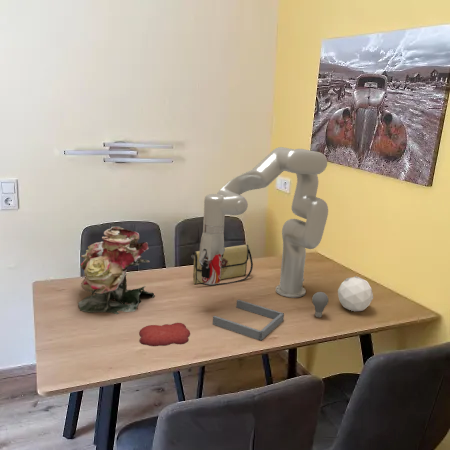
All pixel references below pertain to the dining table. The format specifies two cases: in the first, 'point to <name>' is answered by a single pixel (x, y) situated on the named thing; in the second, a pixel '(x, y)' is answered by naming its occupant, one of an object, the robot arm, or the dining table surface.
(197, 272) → the clutch purse
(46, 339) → the dining table surface
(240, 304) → the grey u-shaped frame
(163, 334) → the patty
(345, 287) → the geodesic sphere
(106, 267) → the rose bouquet
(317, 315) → the light bulb
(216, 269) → the soda can
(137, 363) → the dining table surface
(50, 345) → the dining table surface
